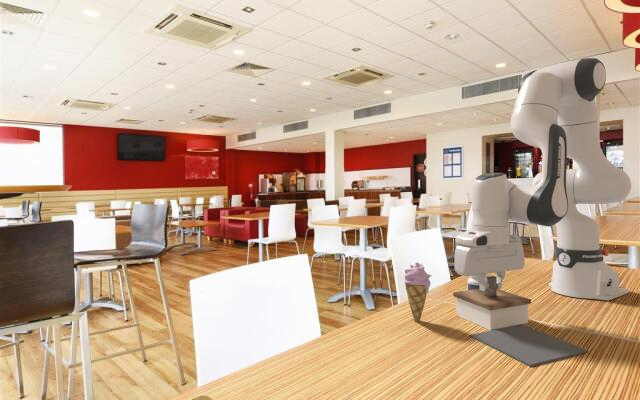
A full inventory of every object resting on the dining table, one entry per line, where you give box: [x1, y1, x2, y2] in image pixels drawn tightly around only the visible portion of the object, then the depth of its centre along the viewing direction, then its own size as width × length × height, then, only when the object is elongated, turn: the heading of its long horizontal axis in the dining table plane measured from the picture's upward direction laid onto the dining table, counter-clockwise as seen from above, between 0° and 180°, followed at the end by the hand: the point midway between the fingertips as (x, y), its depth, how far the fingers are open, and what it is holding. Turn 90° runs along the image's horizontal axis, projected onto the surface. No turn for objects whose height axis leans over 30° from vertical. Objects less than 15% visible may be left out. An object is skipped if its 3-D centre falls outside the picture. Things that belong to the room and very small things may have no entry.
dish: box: [455, 297, 529, 331], centre depth 99 cm, size 12×12×5 cm
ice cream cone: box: [403, 261, 432, 323], centre depth 98 cm, size 7×6×15 cm
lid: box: [452, 274, 532, 311], centre depth 99 cm, size 13×13×6 cm
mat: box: [469, 324, 589, 367], centre depth 83 cm, size 16×16×1 cm
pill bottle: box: [466, 275, 480, 290], centre depth 110 cm, size 5×5×10 cm
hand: (490, 289), depth 99 cm, fingers closed on lid, 3 cm apart
